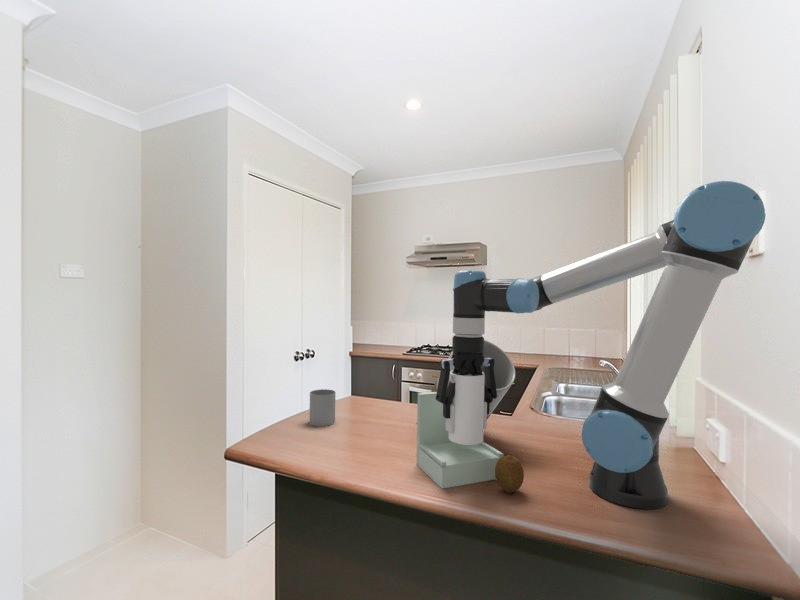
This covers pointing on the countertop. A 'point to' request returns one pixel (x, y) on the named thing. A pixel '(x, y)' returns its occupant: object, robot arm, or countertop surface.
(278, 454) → the countertop surface
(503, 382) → the planter
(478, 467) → the mint green bookend
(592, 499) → the countertop surface
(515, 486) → the fruit
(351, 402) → the countertop surface
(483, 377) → the cup
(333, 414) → the cup
